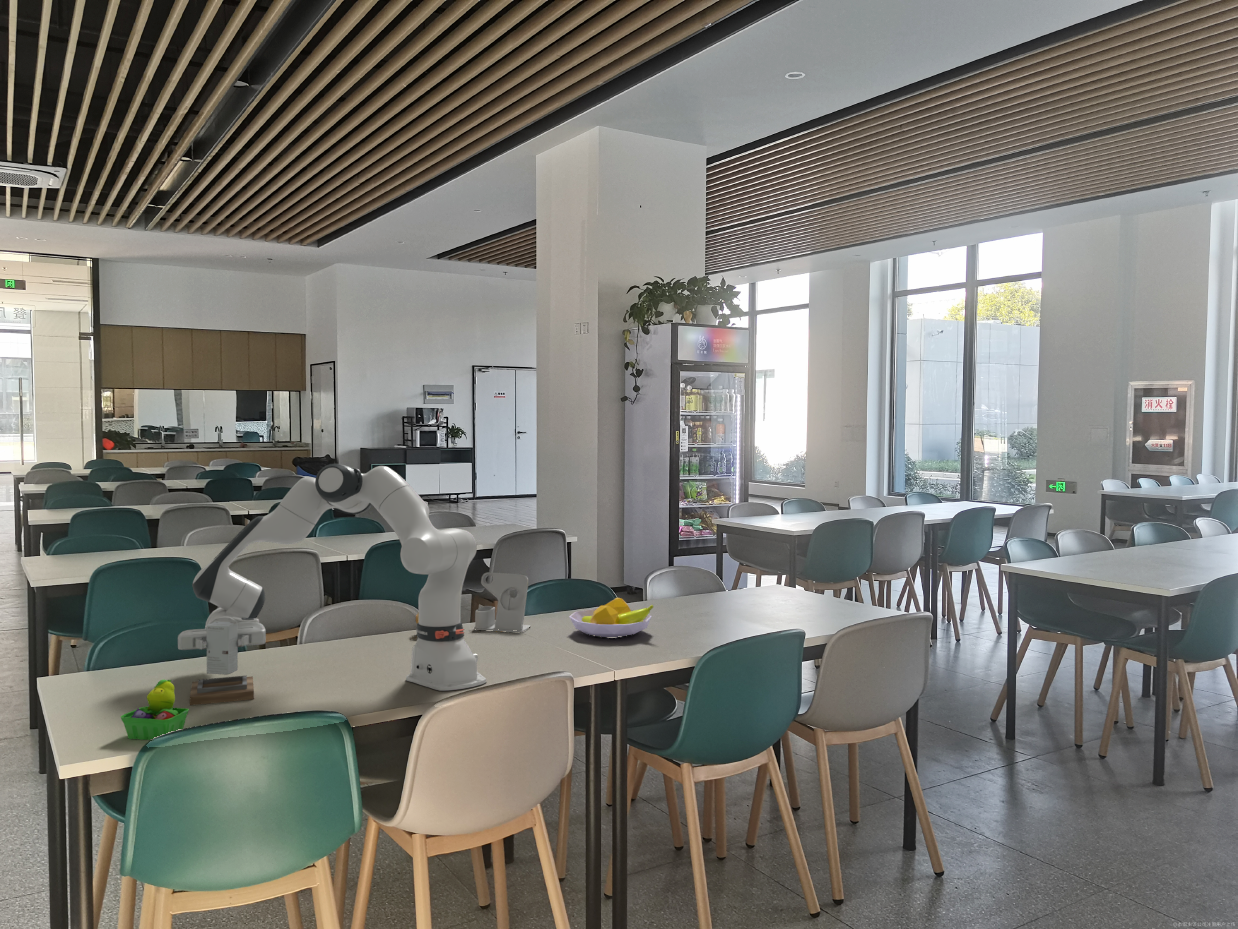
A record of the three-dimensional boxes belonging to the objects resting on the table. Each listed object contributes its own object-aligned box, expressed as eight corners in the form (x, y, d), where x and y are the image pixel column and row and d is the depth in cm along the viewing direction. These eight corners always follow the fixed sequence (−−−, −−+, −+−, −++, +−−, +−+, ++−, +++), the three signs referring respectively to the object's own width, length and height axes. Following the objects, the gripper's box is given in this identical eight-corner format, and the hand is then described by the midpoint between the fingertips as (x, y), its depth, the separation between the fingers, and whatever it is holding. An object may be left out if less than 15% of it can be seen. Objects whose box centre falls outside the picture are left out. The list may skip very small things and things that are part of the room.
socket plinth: (253, 699, 217) (253, 687, 217) (189, 705, 211) (189, 692, 211) (252, 684, 230) (252, 672, 230) (192, 689, 224) (192, 677, 224)
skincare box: (205, 674, 219) (204, 625, 218) (216, 669, 223) (215, 621, 223) (229, 675, 218) (227, 625, 217) (239, 670, 222) (238, 621, 222)
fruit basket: (118, 740, 187) (117, 687, 187) (146, 727, 196) (146, 676, 196) (167, 744, 185) (167, 690, 185) (194, 730, 194) (194, 678, 194)
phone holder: (471, 630, 295) (472, 575, 295) (483, 624, 305) (484, 571, 304) (521, 633, 291) (522, 578, 290) (532, 627, 301) (532, 574, 300)
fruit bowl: (553, 632, 293) (553, 598, 293) (615, 622, 311) (615, 589, 311) (609, 649, 272) (609, 612, 272) (672, 636, 290) (672, 601, 290)
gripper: (178, 623, 228) (174, 635, 215) (264, 617, 236) (266, 629, 223) (178, 647, 228) (174, 661, 215) (264, 641, 236) (266, 654, 223)
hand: (222, 644), depth 219 cm, fingers closed on skincare box, 7 cm apart
